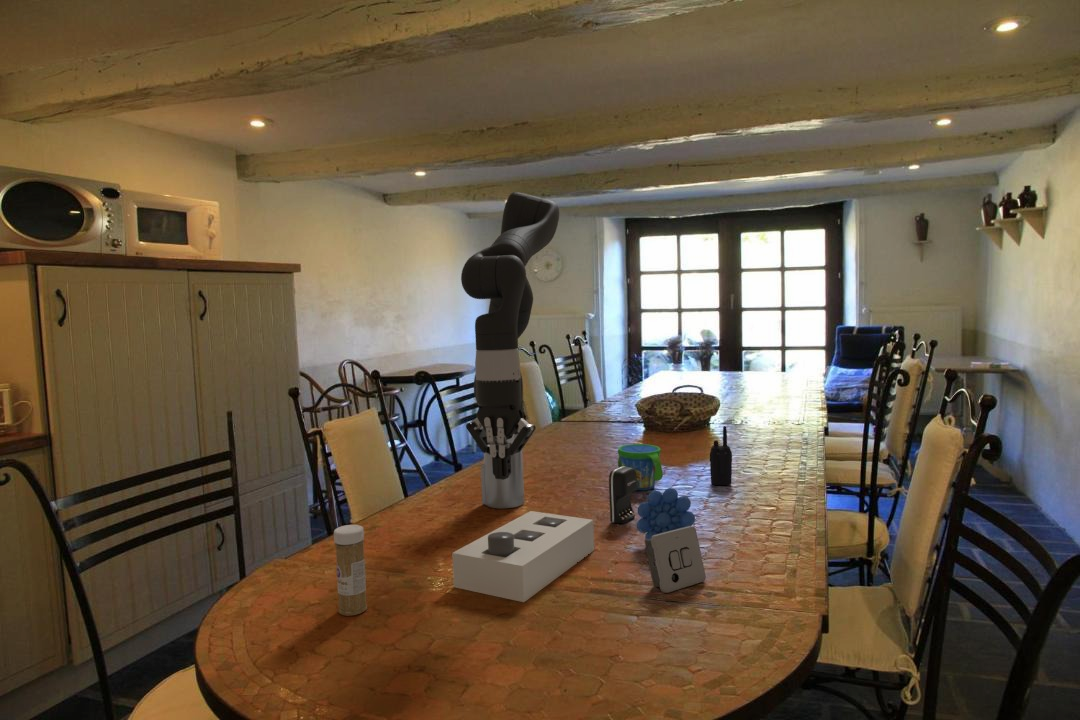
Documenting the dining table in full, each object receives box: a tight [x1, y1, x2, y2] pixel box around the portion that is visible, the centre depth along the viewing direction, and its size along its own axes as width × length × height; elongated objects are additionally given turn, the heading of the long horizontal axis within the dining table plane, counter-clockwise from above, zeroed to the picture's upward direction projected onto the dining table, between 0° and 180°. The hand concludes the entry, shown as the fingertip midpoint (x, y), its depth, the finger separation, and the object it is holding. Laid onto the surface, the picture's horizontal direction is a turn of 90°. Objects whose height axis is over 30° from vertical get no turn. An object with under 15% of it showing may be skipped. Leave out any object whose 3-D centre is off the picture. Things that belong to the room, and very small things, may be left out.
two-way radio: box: [709, 425, 733, 486], centre depth 179 cm, size 6×4×15 cm
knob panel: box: [451, 510, 595, 603], centre depth 128 cm, size 14×26×6 cm, turn 150°
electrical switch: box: [644, 525, 707, 594], centre depth 119 cm, size 9×5×9 cm, turn 121°
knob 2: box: [515, 532, 539, 542], centre depth 128 cm, size 4×4×5 cm
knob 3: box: [539, 519, 562, 527], centre depth 136 cm, size 4×4×5 cm
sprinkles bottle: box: [333, 524, 368, 617], centre depth 112 cm, size 5×5×14 cm
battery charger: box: [608, 466, 638, 524], centre depth 154 cm, size 7×4×11 cm, turn 144°
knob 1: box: [488, 532, 514, 558], centre depth 121 cm, size 4×4×5 cm
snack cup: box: [617, 443, 664, 491], centre depth 180 cm, size 16×10×10 cm
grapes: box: [636, 487, 696, 541], centre depth 136 cm, size 12×7×12 cm, turn 61°
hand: (502, 478), depth 120 cm, fingers closed
